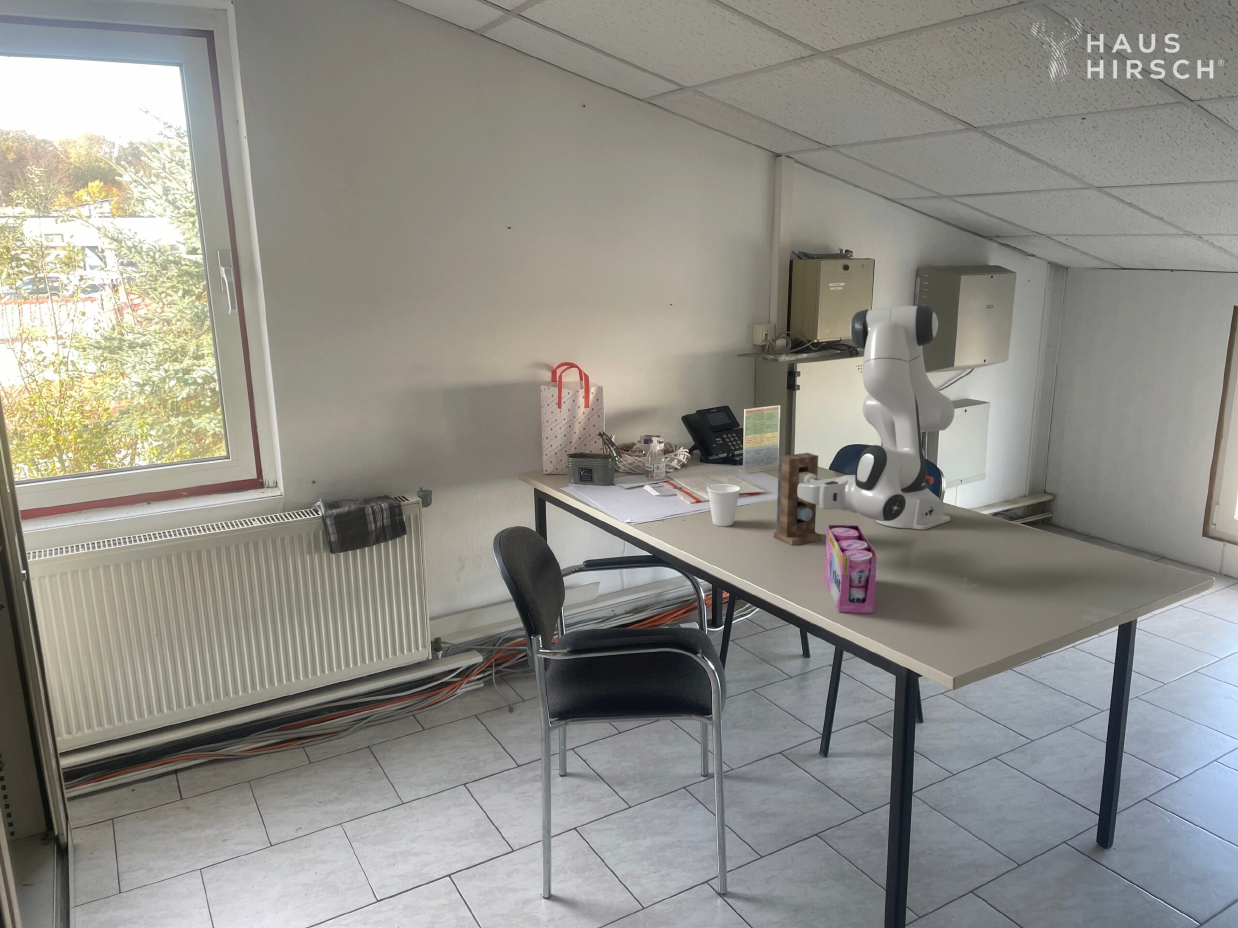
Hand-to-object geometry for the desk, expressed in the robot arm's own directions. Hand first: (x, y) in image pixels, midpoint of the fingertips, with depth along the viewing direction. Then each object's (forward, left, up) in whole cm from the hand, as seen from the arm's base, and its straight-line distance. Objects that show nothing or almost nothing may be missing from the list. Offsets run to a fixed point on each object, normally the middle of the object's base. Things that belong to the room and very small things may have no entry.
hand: (814, 481), depth 233 cm
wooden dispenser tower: (0, -6, -18) cm, 19 cm away
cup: (+10, -28, -18) cm, 35 cm away
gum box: (+16, +33, -18) cm, 41 cm away
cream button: (0, -3, -2) cm, 3 cm away
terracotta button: (0, -4, -7) cm, 8 cm away
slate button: (0, -4, -12) cm, 12 cm away
